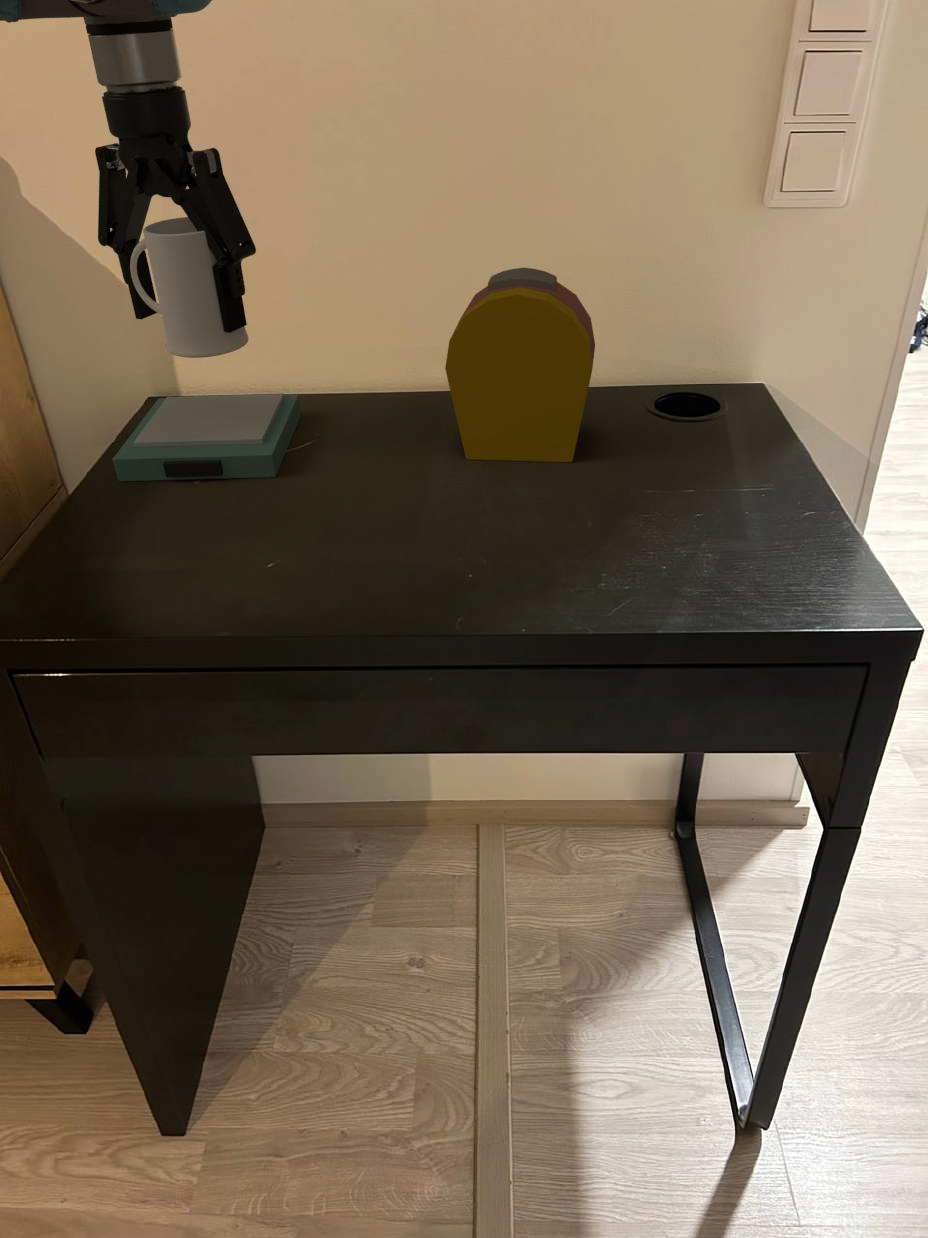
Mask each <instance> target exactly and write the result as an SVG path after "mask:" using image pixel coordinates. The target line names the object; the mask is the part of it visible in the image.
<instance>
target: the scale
mask: <svg viewBox="0 0 928 1238" xmlns="http://www.w3.org/2000/svg"><path fill="white" fill-rule="evenodd" d="M300 399H301V398H300V394H299V393H289V394H288V393H286V394H285V393H250V394H249V393H248V394H219V395H218V394H216V395H215V394H213V395H188V396H187V395H185V396H182V395H181V396H167V397H159V398H157V400H155V402H154V403H153V405H152V406H151V408H150V409H149V410H148V412H147V413H146V414H145V415H144V416H143V418H142V419H141V420H140V422H139V423H138V425H136V428H135V429H133V430H132V433H131V434H130V435H129V437H127V439H126V441H124V443H123V444H122V446H121V447H120V449H119V450H118V451H117V452H116V454H115V455H114V456H113V458H112V463H113V467H114V471H115V474H116V478H117V481H118V482H143V481H144V482H147V481H148V482H149V481H176V480H177V481H182V480H183V481H184V480H219V479H220V480H221V479H222V480H223V479H256V478H276V477H277V475H278V473H279V470H280V468H281V466H282V462H283V460H284V458H285V456H286V453H287V451H288V448H289V446H290V443H291V441H292V438H293V436H294V433H295V431H296V429H297V427H298V425H299V422H300V420H301V417H302V415H303V414H302V406H301V400H300Z"/></svg>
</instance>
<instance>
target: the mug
mask: <svg viewBox="0 0 928 1238" xmlns="http://www.w3.org/2000/svg"><path fill="white" fill-rule="evenodd" d="M142 233H143V239H140V240H139V243H138V244H137V245H136V247H135V248H134V250H133V253H132V256H131V261H130V271H131V277H132V281H133V283H134V286H135V288H136V290H137V292H138V294H139V295H140V297H141V298H142V299H143V301H144V302H145V303H146V304H147V305H148V306H149V307H150V308H151V309H153V310H154V311H156V312H157V313H156V314H159V315H161V318H162V323H163V328H164V332H165V333H164V334H165V339H166V341H165V342H166V343H165V346H166V348H165V349H166V350H167V352H168V353H169V354H171V355H173V356H175V357H181V358H188V359H189V358H190V359H199V358H200V359H201V358H212V357H218V356H222V355H225V354H229V353H233V352H236V351H237V350H240V349H242V348H244V347H245V346H246V345H247V344H248V343H249V335H248V333H247V330H246V326H244V327H242V328H239V329H237V330H235V331H233V332H231V333H227V332H224V328H223V323H222V317H221V312H220V306H219V301H218V296H217V290H216V285H215V280H214V274H213V269H212V266H214V264H215V263H216V262H217V260H216V258H215V257H214V255H213V254H212V252H211V251H210V249H209V248H208V245H207V240H206V235H205V231H199V232H198V231H197V230H196V228H195V227H194V225H193V224H192V222H191V221H190V219H189V218H188V216H185V217H176V218H170V219H169V218H168V219H165V220H160V221H156V222H154V223H151V224H148V225H146V226H145V227H143V230H142ZM143 250H145V251H147V255H148V260H149V264H150V268H151V269H150V270H151V273H152V277H153V278H152V279H153V282H154V287H155V290H156V295H157V300H158V302H157V303H156V302H155V301H154V300H152V299H151V298H150V297H149V296H148V295H147V294H146V292H145V291H144V289H143V288H142V286H141V284H140V281H139V279H138V275H137V260H138V257H139V255H140V253H141V252H142V251H143ZM224 250H225V251H227V250H226V249H225V248H224Z"/></svg>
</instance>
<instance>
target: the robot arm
mask: <svg viewBox="0 0 928 1238" xmlns="http://www.w3.org/2000/svg"><path fill="white" fill-rule="evenodd" d="M212 1H213V0H0V22H6V23H8V24H10V23H17V22H19V21H22V20H23V21H25V20H37V19H38V20H39V19H69V18H70V19H72V18H83V21H84V25H85V31H86V34H88V35H87V37H88V43H89V46H90V51H91V56H92V60H93V65H94V71H95V75H96V79H97V83H98V84H99V85H101V86H102V87H105V88H106V91H104V92H103V95H102V96H101V100H102V104H103V109H104V113H105V117H106V122H107V126H108V130H109V133H110V134H111V136H113V137H114V138H117V139H118V143H117V142H115V143H109V144H105V145H101V146H97V147H95V149H94V154H95V159H96V163H97V168H98V173H99V174H98V211H97V213H98V214H97V219H98V220H97V240H98V243H99V244H100V245H101V246H102V247H106V246H107V247H109V248H110V249H112V250H113V252H114V253H115V255H117V258H118V262H119V265H120V269H121V275H122V279H123V281H124V283H125V285H127V287H128V291H129V295H130V300H131V304H132V308H133V312H134V316H135V320H143V319H146V318H149V317H151V316H153V315H156V314H158V313H157V312H156V311H154V310H153V309H151V308H150V307H149V306H148V305H147V304H146V303H145V302H144V301H143V299H142V298H141V297H140V295H139V294H138V292H137V290H136V288H135V286H134V283H133V281H132V277H131V271H130V261H131V256H132V253H133V250H134V248H135V247H136V245H137V244H138V243H139V242H140V241H141V237H142V233H143V229H144V226H145V223H146V218H147V215H148V212H149V208H150V205H151V201H152V198H153V197H154V196H156V195H157V196H160V197H162V198H170V199H171V200H172V202H173V203H174V204H175V205H177V206H179V207H180V208H181V209H182V211H183V212H184V214H185V215H186V217H188V218H189V219H190V221H191V222H192V224H193V225H194V227H195V228H196V230H197V231H198V232H199V231H205V235H206V240H207V245H208V248H209V249H210V251H211V252H212V254H213V255H214V257H215V258H216V260H217V262H216V263H215V264H214V266H212V269H213V274H214V280H215V285H216V290H217V296H218V301H219V306H220V312H221V317H222V323H223V328H224V332H227V333H231V332H233V331H235V330H237V329H239V328H242V327H244V326H245V327H246V326H247V324H248V323H247V317H246V312H245V306H244V300H243V296H245V295H246V285H245V280H244V274H243V268H242V262H243V260H244V259H246V258H249V257H251V256H254V255H255V254H256V253H257V248H256V245H255V242H254V240H253V238H252V235H251V233H250V231H249V229H248V226H247V224H246V221H245V220H244V218H243V215H242V213H241V211H240V208H239V206H238V204H237V202H236V199H235V197H234V195H233V193H232V191H231V188H230V185H229V184H228V182H227V179H226V177H225V175H224V170H223V166H222V165H223V164H222V161H221V155H220V152H219V150H218V149H217V148H216V147H211V148H207V149H203V150H202V149H201V150H194V149H193V147H192V145H191V143H190V140H189V131H190V130H191V128H192V122H191V116H190V110H189V106H188V100H187V93H186V90H185V89H184V88H183V87H182V86H180V85H178V84H177V83H178V81H179V80H181V78H182V77H183V74H182V69H181V63H180V59H179V53H178V47H177V42H176V36H175V30H174V27H173V20H172V18H175V17H177V16H178V15H184V14H185V15H186V14H194V13H197V12H201V11H202V10H204V9H205V8H206V7H208V6H209V5H210V4H211V2H212ZM224 248H225V249H226V250H227V251H225V250H224ZM137 275H138V279H139V281H140V284H141V286H142V288H143V289H144V291H145V292H146V294H147V295H148V296H149V297H150V298H151V299H152V300H154V301H155V302H156V303H158V301H157V297H156V293H155V288H154V284H153V280H152V279H153V278H152V275H151V269H150V265H149V261H148V257H147V253H146V249H145V250H143V251H142V252H141V253H140V255H139V257H138V260H137Z"/></svg>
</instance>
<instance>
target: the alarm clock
mask: <svg viewBox="0 0 928 1238" xmlns="http://www.w3.org/2000/svg"><path fill="white" fill-rule="evenodd" d="M594 335H595V334H594V330H593V322H592V317H591V316H590V314H589V313H588V311H587V310H586V308H585V306H584V305H583V304H582V302H581V300H580V299H579V297H578V295H577V294H576V293H574V291H572V290H570V289H569V288H567V287H566V286H564V285H562V284H561V283H560V282H558V278H557V276H556V275H554V274H552V273H550V272H548V271H545V270H542V269H536V268H531V267H518V268H510V269H507V270H502V271H500V272H497V273H496V274H493V275H491V276H490V277H489V280H488V282H487V286H485V287H484V288H482V289H481V290H480V291H478V292H476V293H475V294H474V296H473V298H471V301H470V302H469V303H468V305H467V307H466V309H465V310H464V312H463V313H462V314H461V316H460V319H459V320H458V323H457V325H456V326H455V329H454V330H453V333H452V335H451V337H450V339H449V341H448V346H447V347H448V348H447V353H446V362H445V368H444V369H445V375H446V376H447V377H446V378H447V383H448V387H449V391H450V396H451V398H452V404H453V409H454V413H455V418H456V422H457V425H458V426H457V427H458V430H459V434H460V439H461V443H462V448H463V452H464V456H465V460H473V461H474V460H475V461H476V460H477V461H478V460H479V461H480V460H481V461H512V462H546V463H547V462H549V463H573V460H574V456H575V452H576V447H577V443H578V437H579V433H580V428H581V424H582V419H583V416H584V411H585V405H586V400H587V396H588V392H589V387H590V382H591V379H592V374H593V368H594V359H595V351H596V342H595V336H594Z"/></svg>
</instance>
